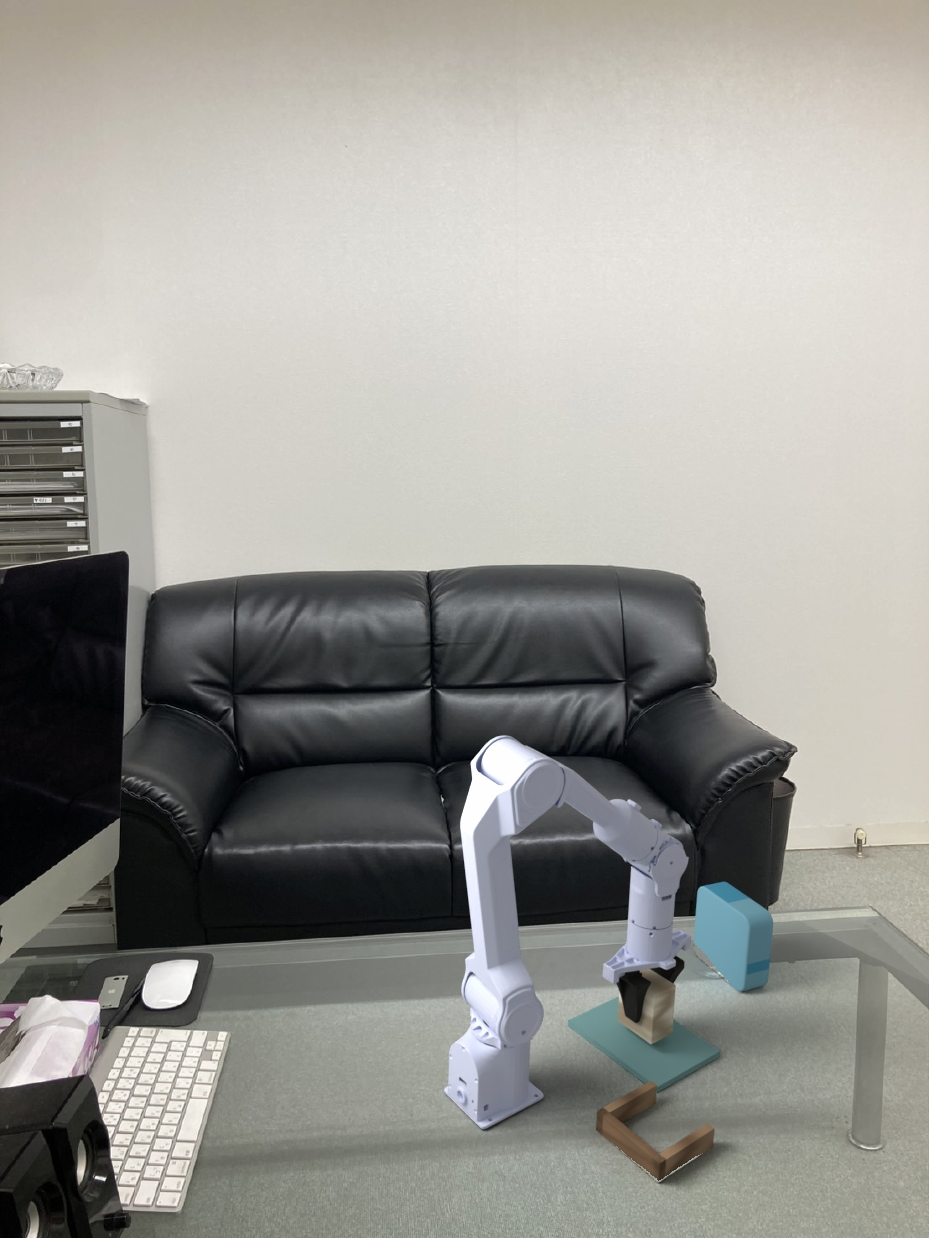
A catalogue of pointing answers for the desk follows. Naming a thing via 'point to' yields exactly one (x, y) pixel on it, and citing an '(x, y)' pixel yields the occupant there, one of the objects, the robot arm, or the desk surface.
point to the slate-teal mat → (644, 1046)
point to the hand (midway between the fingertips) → (644, 1012)
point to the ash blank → (653, 1009)
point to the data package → (734, 935)
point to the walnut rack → (640, 1151)
